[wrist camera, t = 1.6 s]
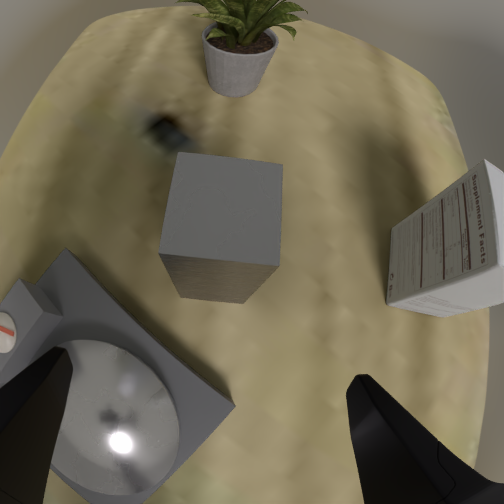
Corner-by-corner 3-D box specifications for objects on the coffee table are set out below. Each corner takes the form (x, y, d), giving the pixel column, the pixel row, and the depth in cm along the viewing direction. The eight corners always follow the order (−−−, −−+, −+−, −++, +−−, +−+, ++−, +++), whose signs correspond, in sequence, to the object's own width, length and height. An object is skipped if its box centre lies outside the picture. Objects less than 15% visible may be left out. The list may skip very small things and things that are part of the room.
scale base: (124, 512, 15) (108, 545, 10) (-12, 373, 16) (-51, 374, 11) (232, 400, 20) (241, 418, 14) (75, 255, 21) (45, 231, 16)
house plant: (271, 38, 32) (301, -66, 16) (329, 109, 29) (394, -15, 14) (162, 56, 28) (159, -68, 13) (198, 137, 25) (208, -36, 10)
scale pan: (122, 512, 14) (119, 519, 12) (12, 407, 14) (4, 410, 13) (215, 418, 17) (215, 423, 16) (89, 306, 18) (83, 303, 17)
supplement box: (444, 247, 26) (538, 196, 14) (442, 319, 24) (551, 292, 12) (388, 225, 26) (484, 154, 14) (382, 305, 23) (501, 266, 11)
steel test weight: (243, 303, 22) (279, 265, 11) (180, 297, 21) (158, 253, 11) (247, 244, 23) (282, 164, 13) (188, 238, 23) (178, 151, 12)
